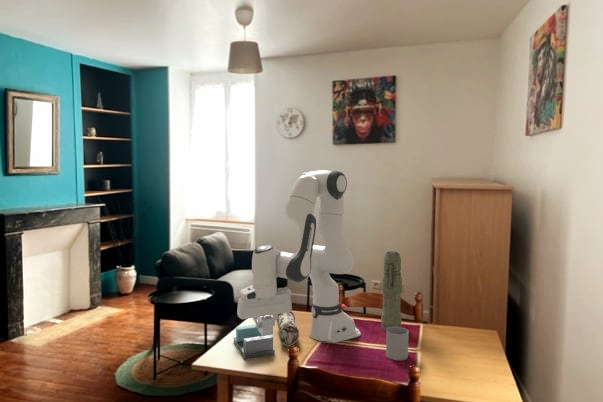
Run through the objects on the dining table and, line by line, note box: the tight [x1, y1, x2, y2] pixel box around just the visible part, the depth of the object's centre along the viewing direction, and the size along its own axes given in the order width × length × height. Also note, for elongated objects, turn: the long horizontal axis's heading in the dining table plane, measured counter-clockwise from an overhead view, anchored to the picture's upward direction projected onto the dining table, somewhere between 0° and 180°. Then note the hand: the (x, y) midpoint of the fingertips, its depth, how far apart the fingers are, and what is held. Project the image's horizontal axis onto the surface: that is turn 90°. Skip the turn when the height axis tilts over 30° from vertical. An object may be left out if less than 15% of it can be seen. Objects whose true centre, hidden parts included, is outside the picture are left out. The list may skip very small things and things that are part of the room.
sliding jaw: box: [235, 324, 262, 342], centre depth 181 cm, size 11×3×5 cm, turn 112°
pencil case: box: [275, 310, 300, 347], centre depth 189 cm, size 22×8×10 cm, turn 6°
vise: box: [233, 335, 276, 361], centre depth 176 cm, size 12×18×7 cm, turn 22°
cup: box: [385, 326, 409, 361], centre depth 170 cm, size 8×8×10 cm
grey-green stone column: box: [380, 250, 403, 332], centre depth 197 cm, size 9×12×35 cm
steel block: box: [257, 315, 274, 336], centre depth 162 cm, size 4×6×6 cm, turn 22°
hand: (265, 326), depth 162 cm, fingers closed on steel block, 4 cm apart
